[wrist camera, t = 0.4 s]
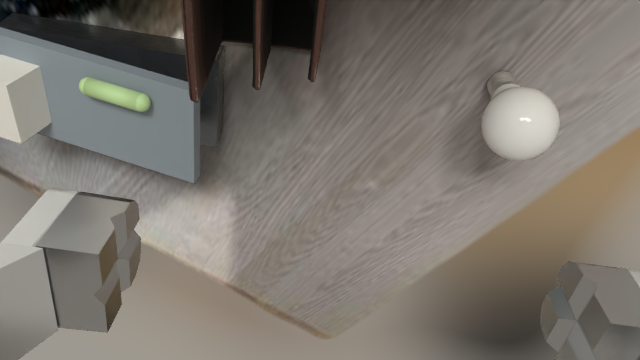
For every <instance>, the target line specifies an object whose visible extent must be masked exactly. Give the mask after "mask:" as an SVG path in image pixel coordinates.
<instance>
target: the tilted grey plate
mask: <svg viewBox="0 0 640 360" xmlns="http://www.w3.org/2000/svg"><path fill="white" fill-rule="evenodd" d="M36 133H38V134H41V135H45V136H48V137H51V138H54V139H57V140H60V141H63V142H66V143H69V144H73V145H76V146H79V147H82V148H85V149H88V150H91V151H94V152H98V153H101V154H104V155H107V156H110V157H113V158H116V159H119V160H122V161H126V162H129V163H132V164H135V165H138V166H141V167H144V168H147V169H150V170H154V171H157V172H160V173H163V174H166V175H169V176H172V177H175V178H179V179H182V180H185V181H188V182H191V183H195V182H196V181H197V179H198V178H199V177H200V100H199V102H198V103H195V102H193V101H191V100H190V96H189V86H188V82H186V81H182V80H179V79H176V78H172V77H169V76H165V75H162V74H159V73H155V72H152V71H148V70H145V69H141V68H138V67H135V66H131V65H128V64H124V63H121V62H118V61H114V60H111V59H107V58H104V57H101V56H97V55H94V54H90V53H87V52H83V51H80V50H77V49H73V48H70V47H66V46H63V45H60V44H56V43H53V42H49V41H46V40H43V39H39V38H36V37H32V36H29V35H25V34H22V33H19V32H15V31H12V30H8V29H5V28H2V27H0V137H2V138H5V139H8V140H11V141H14V142H17V143H20V144H22V143H24V142H25V141H26V140H28V139H29V138H31V137H32V136H33V135H35V134H36Z"/></svg>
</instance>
